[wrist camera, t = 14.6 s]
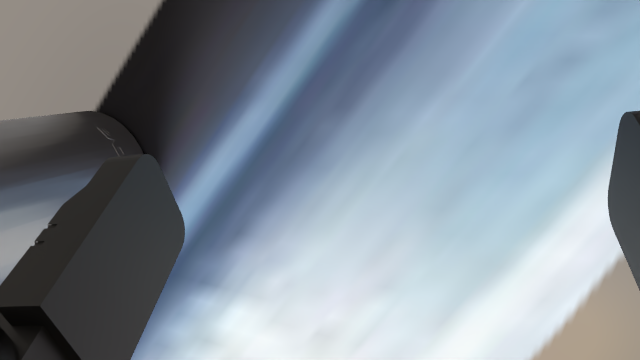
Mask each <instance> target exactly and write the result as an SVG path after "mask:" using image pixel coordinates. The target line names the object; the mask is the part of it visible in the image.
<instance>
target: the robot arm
mask: <svg viewBox="0 0 640 360" xmlns="http://www.w3.org/2000/svg"><path fill="white" fill-rule="evenodd" d="M608 209H609V216H610V221H611V224H612V227H613V230H614V232H615V235H616V237H617V239H618V241H619V244H620V246H621V248H622V251H623V253H624V255H625V258H626V260H627V262H628V264H629V267H630V269H631V271H632V274H633V276H634V278H635V281H636V283H637V285H638V288H639V290H640V111H632V112H626V113H624V115H623V116H622V118H621V120H620V124H619V129H618V135H617V141H616V147H615V153H614V159H613V165H612V171H611V177H610V183H609V189H608ZM184 236H185V227H184V220H183V217H182V214H181V212H180V210H179V207H178V205H177V203H176V201H175V199H174V197H173V194H172V192H171V190H170V188H169V186H168V183H167V181H166V179H165V177H164V175H163V172H162V170H161V168H160V166H159V164H158V162H157V161H156V159H155V158H154V157H153V156H151V155H149V154H143V152H142V149H141V148H140V146H139V144H138V143H137V141H136V140H135V138H134V137H133V135H132V134H131V133H130V132H129V131H128V130H127V129H126V128H125V127H124V126H123V125H122V124H121V123H119V122H118V121H117V120H115V119H114V118H112V117H110V116H108V115H105V114H103V113H100V112H94V111H84V112H74V113H66V114H57V115H48V116H38V117H28V118H19V119H11V120H2V121H0V360H130V359H131V357H132V355H133V353H134V350H135V348H136V346H137V344H138V342H139V340H140V337H141V335H142V333H143V331H144V329H145V327H146V324H147V322H148V320H149V318H150V316H151V314H152V311H153V309H154V307H155V305H156V303H157V301H158V298H159V296H160V294H161V292H162V290H163V288H164V285H165V283H166V281H167V279H168V277H169V275H170V272H171V270H172V268H173V266H174V264H175V262H176V259H177V257H178V255H179V253H180V251H181V249H182V246H183V243H184Z"/></svg>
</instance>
